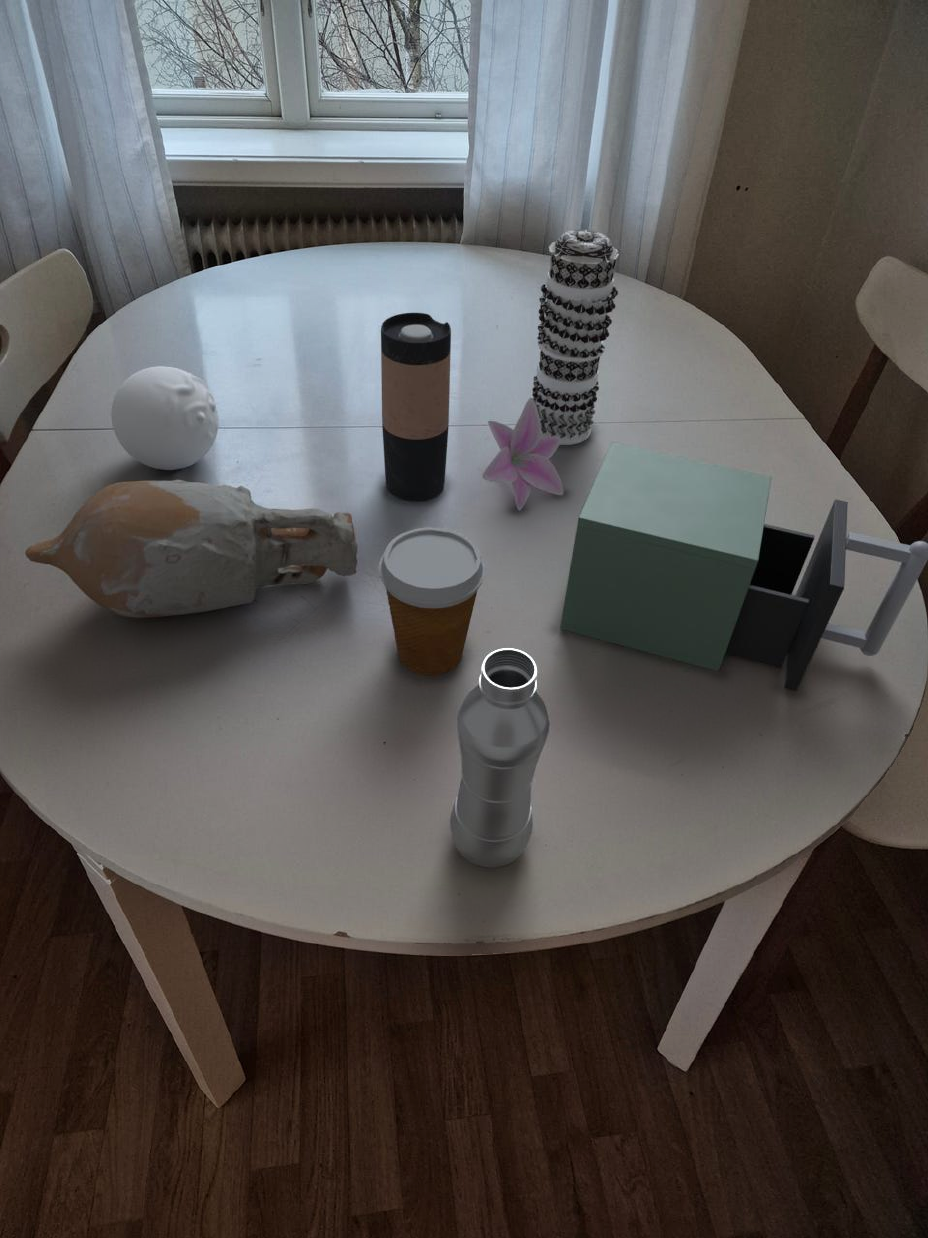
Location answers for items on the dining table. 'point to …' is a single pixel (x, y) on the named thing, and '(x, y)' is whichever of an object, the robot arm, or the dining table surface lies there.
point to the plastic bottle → (498, 760)
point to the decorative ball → (165, 417)
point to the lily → (524, 456)
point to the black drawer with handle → (815, 595)
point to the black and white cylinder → (573, 333)
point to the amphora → (192, 547)
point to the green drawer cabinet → (665, 554)
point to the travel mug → (415, 404)
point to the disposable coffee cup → (431, 595)
